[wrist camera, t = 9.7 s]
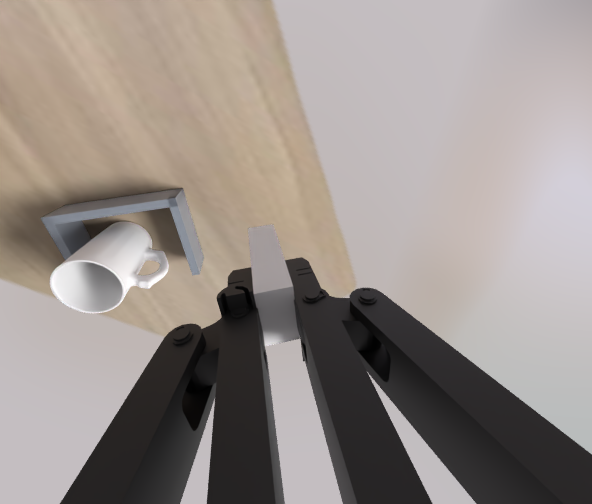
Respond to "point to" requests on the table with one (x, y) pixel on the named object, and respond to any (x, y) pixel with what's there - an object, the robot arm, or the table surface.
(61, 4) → the table surface
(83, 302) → the mug
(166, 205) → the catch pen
